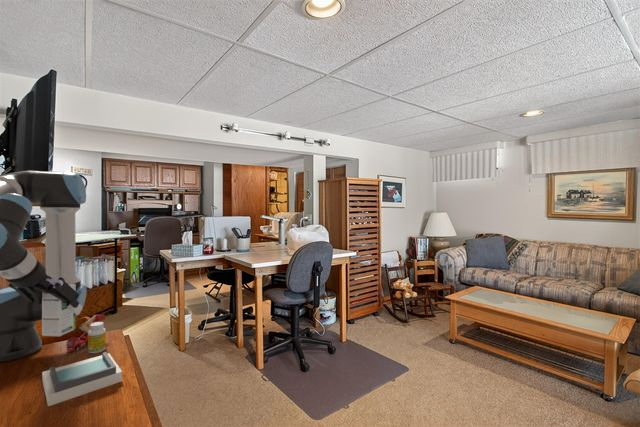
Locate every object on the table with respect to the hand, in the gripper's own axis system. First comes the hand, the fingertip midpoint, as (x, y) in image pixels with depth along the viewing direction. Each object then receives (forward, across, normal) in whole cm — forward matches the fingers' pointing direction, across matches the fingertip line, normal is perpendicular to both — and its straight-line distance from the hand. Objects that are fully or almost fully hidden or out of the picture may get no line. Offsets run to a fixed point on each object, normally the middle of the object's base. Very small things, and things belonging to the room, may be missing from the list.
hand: (68, 310), depth 99 cm
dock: (+11, +8, -17) cm, 22 cm away
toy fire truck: (+28, -8, +1) cm, 29 cm away
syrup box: (+1, 0, -7) cm, 7 cm away
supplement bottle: (+25, -1, -3) cm, 25 cm away
